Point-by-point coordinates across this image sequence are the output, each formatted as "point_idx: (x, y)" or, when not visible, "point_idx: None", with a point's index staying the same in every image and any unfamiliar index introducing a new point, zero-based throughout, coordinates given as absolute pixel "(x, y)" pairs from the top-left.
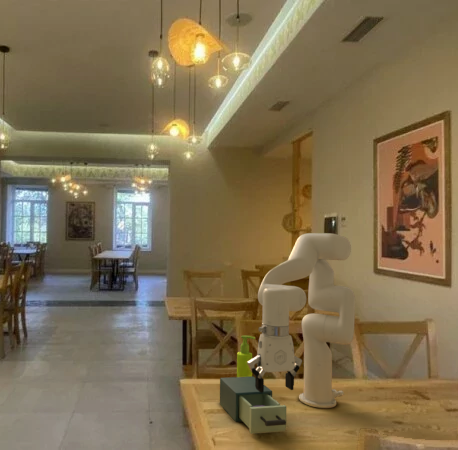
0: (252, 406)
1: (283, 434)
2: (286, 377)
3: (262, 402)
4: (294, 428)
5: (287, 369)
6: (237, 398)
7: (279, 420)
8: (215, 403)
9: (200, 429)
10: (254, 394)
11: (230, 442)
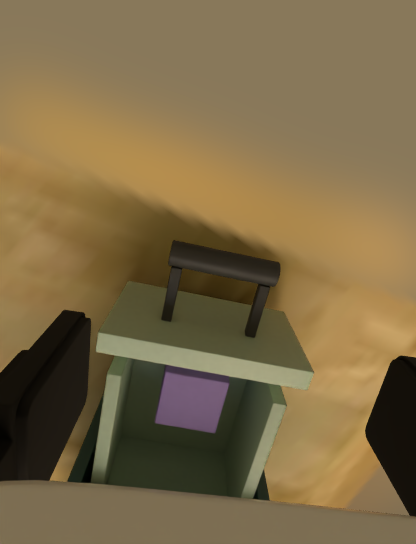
0: (215, 430)
1: (143, 278)
2: (49, 463)
3: (114, 463)
4: (63, 302)
5: (114, 516)
6: (261, 495)
7: (204, 259)
8: None
9: None
10: None
11: (382, 299)
